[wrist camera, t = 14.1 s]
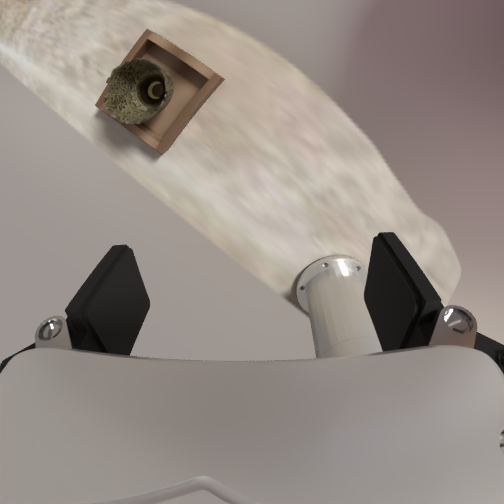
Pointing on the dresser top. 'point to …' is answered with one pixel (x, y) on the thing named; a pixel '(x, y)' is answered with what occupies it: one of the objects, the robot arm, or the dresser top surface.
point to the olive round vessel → (137, 91)
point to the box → (184, 95)
